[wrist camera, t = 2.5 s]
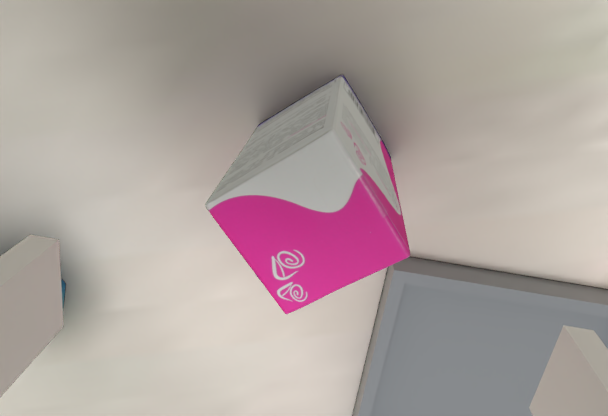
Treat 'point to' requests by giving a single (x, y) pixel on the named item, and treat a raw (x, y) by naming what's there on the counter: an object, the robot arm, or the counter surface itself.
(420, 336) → the tray
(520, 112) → the counter surface
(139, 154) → the counter surface
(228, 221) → the supplement box
